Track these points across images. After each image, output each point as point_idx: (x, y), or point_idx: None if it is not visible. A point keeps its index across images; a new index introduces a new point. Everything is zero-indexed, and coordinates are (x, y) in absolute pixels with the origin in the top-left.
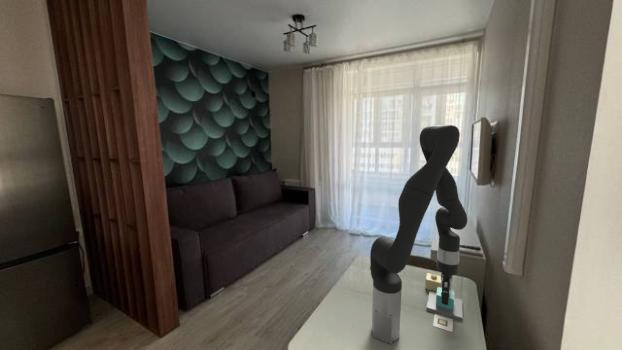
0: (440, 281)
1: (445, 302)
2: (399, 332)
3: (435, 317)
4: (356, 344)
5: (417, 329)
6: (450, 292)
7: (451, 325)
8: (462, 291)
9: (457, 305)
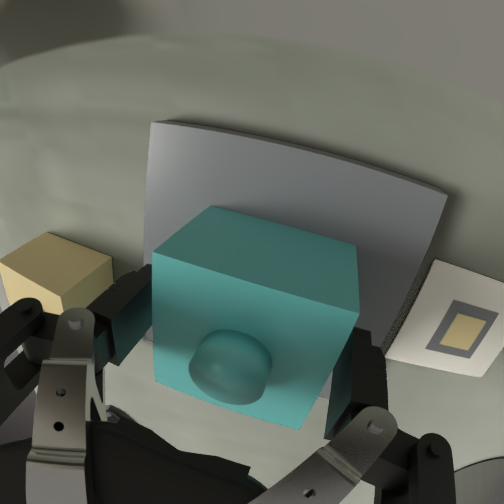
0: (46, 292)
1: (377, 369)
2: (501, 469)
3: (419, 359)
4: None
5: (485, 424)
6: (199, 305)
7: (492, 286)
8: (46, 107)
9: (260, 183)
